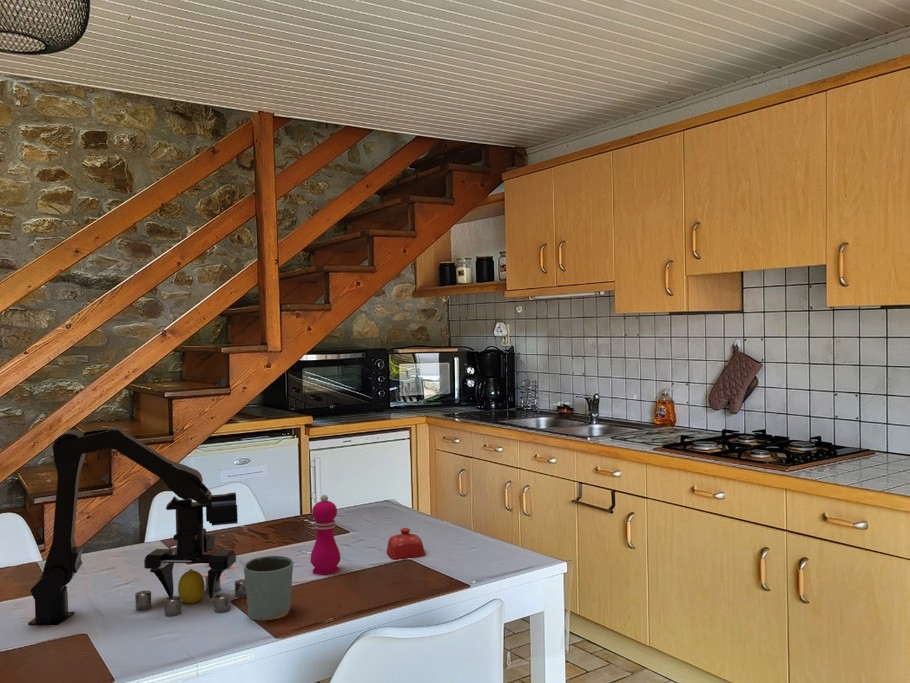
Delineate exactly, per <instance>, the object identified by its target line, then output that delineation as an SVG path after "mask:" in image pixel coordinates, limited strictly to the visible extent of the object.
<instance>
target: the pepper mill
mask: <svg viewBox="0 0 910 683" xmlns="http://www.w3.org/2000/svg"><path fill="white" fill-rule="evenodd" d="M328 499H329V496H328V495H326V494H322V495H321V497H320V501H318V502H316V503H315V504H314V505H313V507H312V510H311V514H312V518H313V519H314V520H315V521H314V522H313V523H314V524H313V525H314V528H315V530H316V531H315V532H316V535H315V542H314V545H313V548H312V550H311V554H310V564H311V565H312V566H313V569H312V574H314V575H316V574H318V575H317V576H326V575H325V574H330V575H333V574H332V573H334V574H336V573H338V572H339V571H338V570H339V569H340V568H339V567H338V565H339V564H340V562H341V552H340V549H339V546H338V545H337V543H336V540H335V535H334V534H335V533H334V531H335V530H334V528H335V527H336V524H335V523H336V520H335V518H336V517H337V514H338V508H337V506H336V504H335V503H334V502H332V501H331V500H330V501H329V500H328ZM337 571H338V572H337ZM335 572H336V573H335ZM319 574H320V575H319Z"/></svg>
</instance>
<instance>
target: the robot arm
mask: <svg viewBox="0 0 910 683" xmlns="http://www.w3.org/2000/svg"><path fill="white" fill-rule="evenodd" d="M105 449H113V450H115V451H117V452H118V453H120V454H122V455H123V456H124V457H126V458H128V459H129V460H130V461H132V462H133V463H136V464H137V465H139V466H141V467H142V468H144V469H146V470H147V471H148V472H150V473H151V474H153V475H155V476H156V477H158V479H160V480H161V481H162V482H163V483H164V485H165V486H166V487H167V488H168V489H169V490H170V491H171V492H172V493H174V494H175V495H176V496H177V497H176V496H173V497H172V499H171V500H170V501H169V502H168V503H167V504H166V507H165V510H166V511H173V510H175V534H174V535H172V537H173V541H175V542H176V543H175V544H176V546H175V547H176V552H175V553H174V551H173V550H172V549H171V548H155V549H154V550H153V551H151V552H149V553H148V554H147V555H146V556H145V557H144V560H143V565H144V569H145V570H149V569H150V573H153V574H154V575H155V576H156V577H157V579H158V581H160V583H161V585H162V587H163V589H164V590H165V592H166V595H167V596H168V597H172V596H174V590H175V588H174V577H173V576H174V574H173V571H174V565H175V564H207V563H208V564H209V567H208V568H210V569H209V570H208V571H207V574H208V586H209V593H208V595H209V599H210V600H211V599H213V598H214V597H215V593H216V592H215V590H216V587H217V584H218V581H219V578H221V574H223V572H224V571H226V570H229V569H228V568H229V567H230V566H231V565H233V566H234V564H236V563H237V554H236V552H235V550H234V549H217V550H216V551H214V546H215V538H216V536H215V535H210V534H207V529H206V528H204V508H205V517H206V518H205V521H206V522H207V523H208V524H211V526H213V527H214V526H223V525H235V524H236V525H237V524H238V523H239V522H238V521H239V520H238V517H239V516H238V505H237V493H236V492H228V493H223V494H212V492H211V491H210V489H209V488H208V487H207V486H206V485H205V484H204V483H203V476H202V474H201V472H200V471H198V470H197V469H194V468H193V467H190V466H189V465H185V464H182V463H179V462H176V461H174V460H171V459H168V458H167V457H165V456H163V454H161V453H159V452H157V451H156V450H154V449H153V448H151V447H149V446H148V445H147V444H144V443H143V442H141V441H140V440H139V439H137V438H135V437H134V436H132V435H131V434H129V433H127V432H126V431H125V430H124V429H123V428H122V427H119V426H112V427H110V428H105V429H104V428H103V429H98V430H97V429H95V430H94V429H93V430H89V431H81V430H79V429H70V430H68V431H67V430H66V431H65V432H64V433H61V434H60V436H59V435H58V437H57V438H55V440H54V441H53V444H52V454H53V463H54V467H55V471H56V474H57V479H56V480H57V482H56V492H55V505H54V518H53V530H52V541H51V545H50V548H49V550H48V554H47V557H46V559H45V561H44V562H45V563H44V567H43V570H42V573H41V574H42V575H41V576H40V577H39V578H38V580H37V581H36V582H35V583H34V585H33V586H32V587H31V589H30V594H31V596H32V598H33V599H34V613H35V614H34V616H35V617H34V618H33V619H32V620H30V621H29V622H28V626H37V627H38V626H44V625H45V626H47V627H49V626H50V625H55V626H58V624H59V625H60V624H62V623H63V622H65V621H66V620H68V619H70V618H72V617H73V616H74V615H75V611H69V600H68V598H69V596H68V595H69V594H68V586H67V585H68V584H69V583H70V582H71V581H72V579H73V578H74V576H75V574H77V573H78V571H79V569H80V568H81V566H82V565H83V560H82V553H83V550H84V545H78V546H77V544H76V540H75V539H76V538H75V533H76V532H75V531H76V520H77V508H78V498H79V497H78V496H79V495H78V493H79V483H80V474H81V471H82V468H83V465H84V462H85V458H86V454H89V453H93V452H96V451H101V450H105ZM179 498H180V499H179ZM209 551H214V552H213V553H212V554H209V553H208V552H209ZM205 553H207V554H205Z"/></svg>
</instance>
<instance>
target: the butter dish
mask: <svg viewBox="0 0 910 683" xmlns="http://www.w3.org/2000/svg"><path fill="white" fill-rule="evenodd" d="M410 531H411V529H410V528H408V527H402V528H401V529H400V530H399V532H400V533H398V534H395V535H392V536H390V537H389V538H388V541H387V545H386V546H387V548H386V555H387V556H388V557H389V559H390V560H393V561H397V560H398V561H400V560H399V559H402V560H408V559H407V558H411V559H418V558H424V557H425V556H426V553H425V548H424V544H423V540H422V538H421V537H420V536H419V535H417V534H414V533H410Z"/></svg>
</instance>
